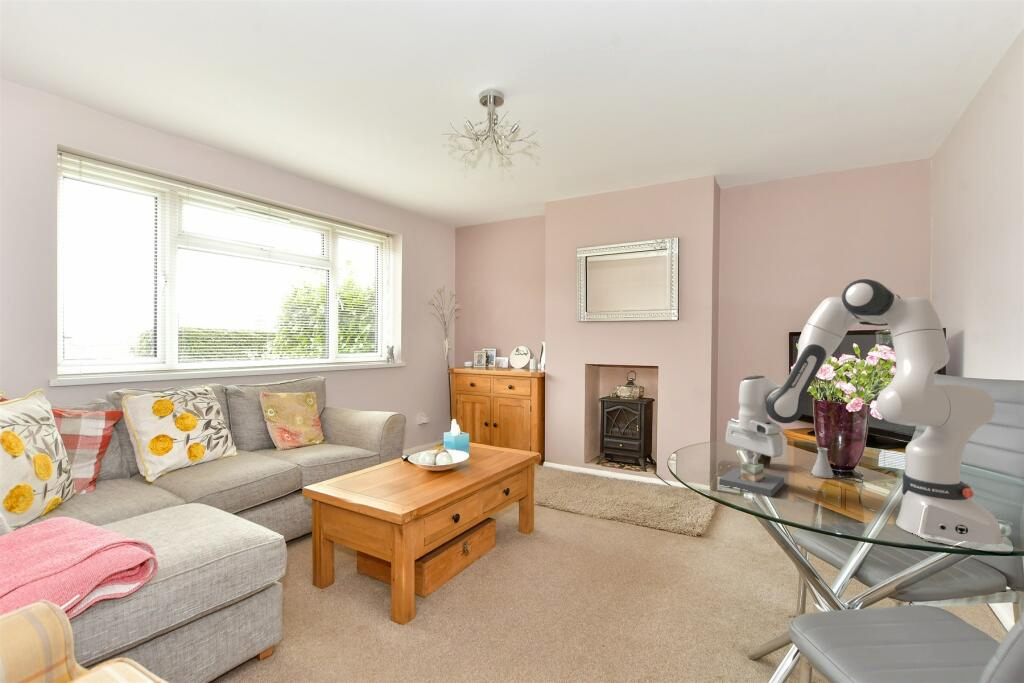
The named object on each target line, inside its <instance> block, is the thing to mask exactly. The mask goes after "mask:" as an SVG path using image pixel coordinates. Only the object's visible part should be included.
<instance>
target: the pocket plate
mask: <svg viewBox="0 0 1024 683" xmlns="http://www.w3.org/2000/svg"><path fill="white" fill-rule="evenodd" d="M718 485H724V486H730V487H737V488H740V489H745V490H748V491H751V492H754V493H759V494H762V495H761V496H763V495H764V496H763V497H769V498H772V497H773V496H774V495H775V494H776V493H777V492H778V491H779V490H780V489H781V488H782V487H783V486H784V485H785V477H784V476H780V475H775V474H771V473H765V472H763V481H762V482H761V483H758V482H753V481H748V480H744V479H741V467H734V468H732V469H731V470H729V471H728V472H727V473H725V474H724V475H723V476H721V477H720V478H719V484H718ZM754 493H753V494H754ZM759 494H758V495H759Z"/></svg>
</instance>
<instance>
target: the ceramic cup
mask: <svg viewBox="0 0 1024 683" xmlns="http://www.w3.org/2000/svg"><path fill="white" fill-rule="evenodd" d="M751 455H752V457H754V455H753V451H752V452H751ZM771 461H772V457H770V456H767V455H763V454H761V456H760V457H759V459H758V463H759V464H763V469H764V468H769V467H770V465H771Z"/></svg>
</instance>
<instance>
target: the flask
mask: <svg viewBox="0 0 1024 683" xmlns="http://www.w3.org/2000/svg"><path fill="white" fill-rule="evenodd" d="M816 449H817V451H818V452H817V458H816V461H815V462H814V465H813V467H812V469H811V472H810V474H811V473H812V474H813V475H812V477H814V476H815V477H816V478H819V479H826V478H832V477H833V475H834V471H833V470H832V467H831V464H830V461H829V458H828V451H829V448H827V447H817V448H816ZM834 476H835V475H834ZM815 477H814V478H815ZM832 479H833V478H832Z"/></svg>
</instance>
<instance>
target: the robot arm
mask: <svg viewBox="0 0 1024 683" xmlns="http://www.w3.org/2000/svg"><path fill="white" fill-rule="evenodd" d="M857 323H859V324H860V325H868V326H876V327H877V326H878V327H881V326H882V327H883V326H885V327H886V326H888V327H889V331H890V334H891V339H892V340H891V341H892V345H893V350H894V356H895V363H896V365H895V366H896V367H895V373H894V376H893V378H892V380H891V381H890V382H889V384H888V385H886V386H885V387H884V388H883V389H882V390H881V391H880V392H879V393H878V395H877V399H876V407H877V411H878V413H879V415H880V417H882V418H883V419H884V420H885V421H886V422H888V423H891V424H897V425H902V426H907V427H926V428H925V430H924V431H923V433H922V434H920V436H918V437H916V438H915V439H912V440H911V441H909V442H908V444H907V445H906V446H905V453H904V454H905V457H904V472H903V474H902V477H901V492H902V501H901V504H900V509H899V513H898V515H897V518H896V521H895V524H896V525H897V526H898V527H899V528H900V529H902V530H903V531H906V532H908V533H910V534H912V533H913V535H915V534H916V535H915V536H917V535H918V536H920V537H922V538H925V539H929V540H935V541H947V542H953V543H955V542H963V541H968V542H978V543H985V544H997V545H998V544H1002V543H1003V542H1004V541H1007V538H1003V537H1008V536H1006V534H1004V533H1002V530H1001V527H1000V522H999V521H998V519H997V518H996V516H995V515H994V514H993V513H992V512H990V511H989V510H988V509H986V508H984V507H983V506H982V505H981V504H979V503H978V502H977V501H975V500H973V499H972V497H974V490H972V489H971V488H972V487H971V486H969V484H968V483H965V482H963V481H961V468H962V460H963V454H964V449H965V448H966V447H967V446H966V445H967V444H968V442H969V440H970V439H971V437H972V436H973V435H974V434H975V433H976V431H977V430H978V429H980V428H981V427H982V426H984V425H986V424H987V423H989V422H990V421H992V419H993V418H994V415H995V413H996V402H995V401H994V398H993V396H992V395H991V394H990V393H989V392H988V391H987V390H986V389H983V388H979V387H975V386H969V385H965V384H936V383H935V382H934V380H935V379H934V376H935V372H938V371H939V370H941V369H943V368H944V367H945V366H946V365H948V363H949V361H950V358H951V354H950V351H949V349H948V348H949V347H948V344H947V341H946V337H945V336H946V335H945V331H944V328H943V325H942V322H941V319H940V317H939V314H938V313H937V309H936V308H935V307H934V305H933V303H932V301H930V300H929V299H928V298H925V297H921V296H910V297H909V296H908V297H902V298H901V297H900V295H898V294H897V293H896V292H894V291H893V290H892V289H891V288H889V286H887V285H884V284H882V283H881V282H878V281H877V280H873V279H866V278H865V279H864V278H861V279H857V280H854V281H852V282H850V283H849V284H848V285H846V287H845V288H844V289H843V291H842V295H841V297H840V296H829V297H827V298H825V299H823V300H822V301H821V303H820V304H819V305H818V306H817V307H816V308H815V310H814V311H813V312H812V313H811V315H810V317H809V318H808V320H807V321H806V323H805V325H804V327H803V328H802V331H801V334H800V335H799V339H798V342H797V357H796V362H795V364H794V366H793V367H792V369H791V371H790V372H789V375H788V377H787V378H786V380H785V382H784V384H783V385H782V384H779V383H776V382H774V381H773V380H770V379H769V378H767V377H766V376H764V375H751V376H747V377H744V378H742V380H741V381H740V384H739V389H738V404H739V410H738V419H735V418H730V419H729V420H728V421H727V427H726V432H725V443H726V444H727V445H730V446H734V447H737V448H739V449H743V452H744V455H745V457H746V462H748V463H751V464H754V465H756V464H758V459H759V457H760V456H761V454H763V455H767V456H770V457H771V458H774V459H775V458H780V457H781V456H782V455H783V453H784V441H783V436H782V434H780V433H782V430H783V428H782V426H781V425H779V424H791V423H794V422H796V421H798V420H799V419H800V418H801V417H802V415H803V413H804V401H805V396H806V394H807V391H808V390H809V388H810V386H811V385H812V383H813V381H814V380H815V377H816V376H817V375H818V372H819V370H820V369H821V368H822V367H823V365H825V363H826V361H828V359H829V358H831V356H832V355H833V354H834V352H836V350H837V349H838V348H839V346H840V344H841V343H843V342H842V341H843V340H844V338H845V336H846V335H847V333H848V331H849V330H850V328H851V327H852V326H854V325H856V324H857ZM769 417H770V418H771V419H772V420H771V419H769ZM773 420H774V421H775V422H774V421H773ZM776 422H778V423H779V424H778V423H776ZM752 451H753V455H754V457H752V455H751V452H752ZM918 536H917V537H918ZM920 537H919V538H920Z"/></svg>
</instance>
